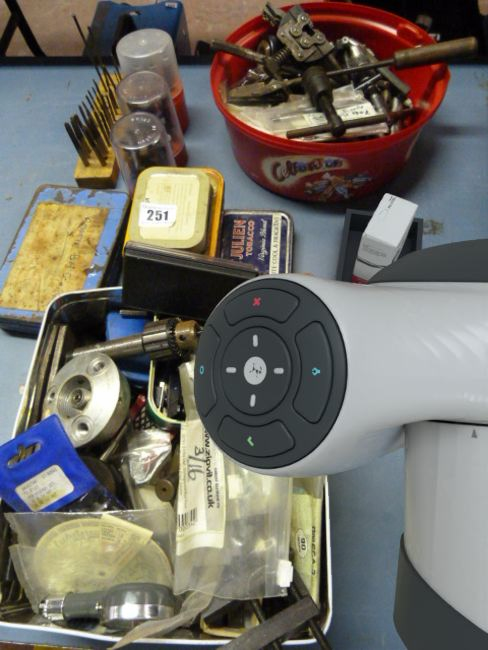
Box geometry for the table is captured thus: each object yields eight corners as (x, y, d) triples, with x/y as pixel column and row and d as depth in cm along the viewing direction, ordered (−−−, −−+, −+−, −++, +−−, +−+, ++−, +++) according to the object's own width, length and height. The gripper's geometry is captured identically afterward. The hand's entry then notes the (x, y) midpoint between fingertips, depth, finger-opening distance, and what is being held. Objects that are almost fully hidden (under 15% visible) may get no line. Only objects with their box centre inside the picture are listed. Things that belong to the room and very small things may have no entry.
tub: (410, 321, 74) (418, 304, 70) (330, 309, 75) (334, 291, 71) (415, 238, 81) (423, 218, 77) (342, 228, 83) (346, 208, 78)
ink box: (379, 297, 75) (397, 247, 65) (348, 284, 76) (361, 233, 66) (400, 255, 79) (420, 202, 68) (370, 244, 80) (385, 190, 70)
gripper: (564, 429, 27) (546, 420, 39) (262, 276, 36) (323, 307, 49) (504, 529, 28) (505, 490, 40) (223, 353, 37) (293, 365, 49)
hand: (403, 389), depth 44 cm, fingers open, 8 cm apart
